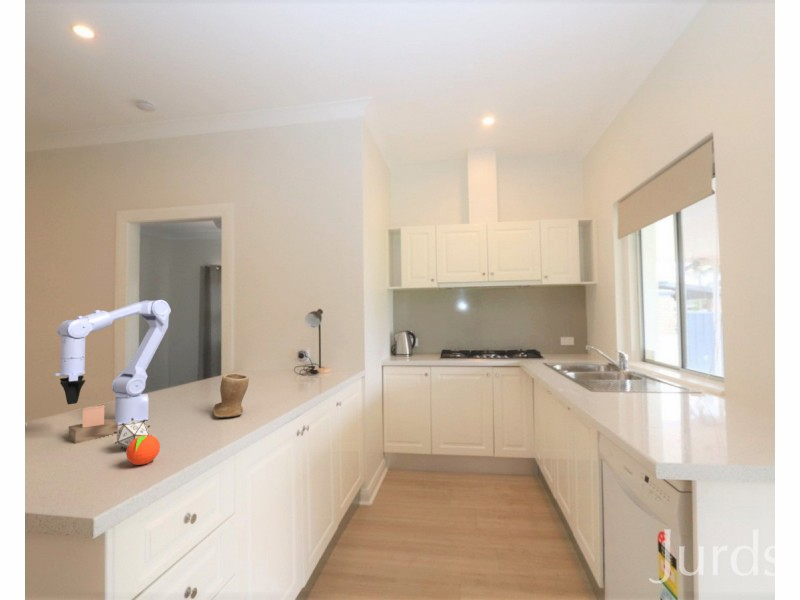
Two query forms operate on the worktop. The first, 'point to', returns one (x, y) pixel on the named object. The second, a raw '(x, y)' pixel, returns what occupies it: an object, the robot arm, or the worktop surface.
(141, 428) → the game die
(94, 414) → the terracotta cube
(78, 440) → the walnut block
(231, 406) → the brown boot
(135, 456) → the clementine
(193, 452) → the worktop surface
